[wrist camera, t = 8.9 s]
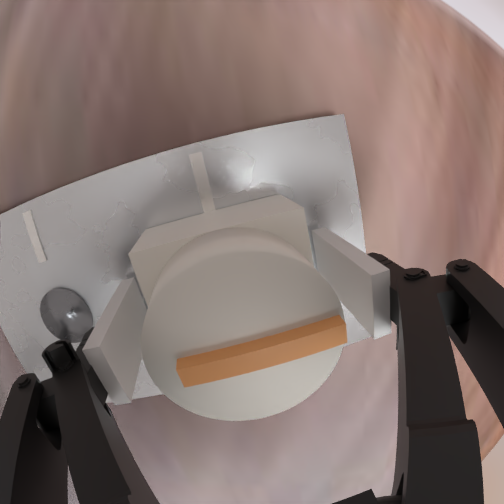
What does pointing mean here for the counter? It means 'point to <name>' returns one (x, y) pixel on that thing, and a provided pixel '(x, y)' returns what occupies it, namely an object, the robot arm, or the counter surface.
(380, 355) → the counter surface
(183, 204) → the panel
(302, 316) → the knob
